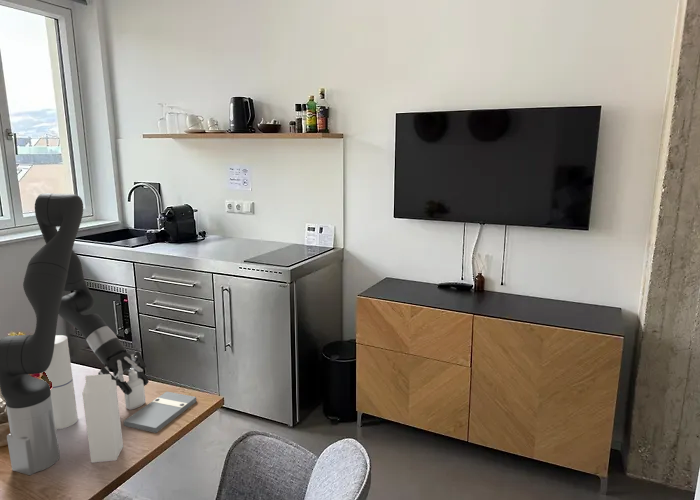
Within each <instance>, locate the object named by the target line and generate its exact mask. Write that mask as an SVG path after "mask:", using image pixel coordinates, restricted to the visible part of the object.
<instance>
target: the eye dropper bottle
mask: <svg viewBox="0 0 700 500" xmlns="http://www.w3.org/2000/svg"><path fill="white" fill-rule="evenodd" d="M131 368H132V367H131ZM127 375H128V381H126V382H127V384H128V385H129V386H130V388H131V389H132V392H131V393H130V394H129V395H127V394H125V393H124V392H123V393H124V402H125V403H124V404H125V409H128V410H135V409H137V408H140V407H141V406H143V405H144V404H146V393H145V386H144V382H143V380H142V379H140V378H138V377H137V372H135V371H134V369H133V368H132V369H131V372H128V374H127Z"/></svg>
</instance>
